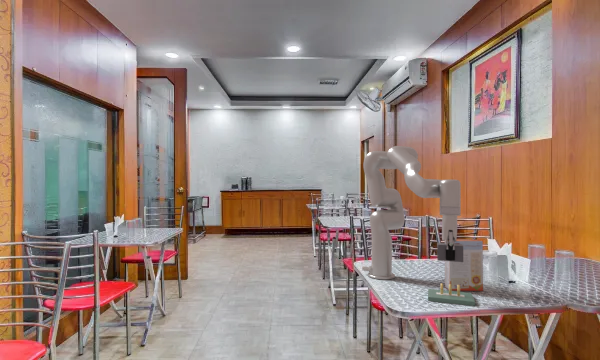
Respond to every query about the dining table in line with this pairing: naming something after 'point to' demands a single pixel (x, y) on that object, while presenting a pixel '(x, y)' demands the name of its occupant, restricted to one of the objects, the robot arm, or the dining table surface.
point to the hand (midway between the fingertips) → (449, 258)
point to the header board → (451, 296)
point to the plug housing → (442, 252)
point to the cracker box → (466, 267)
